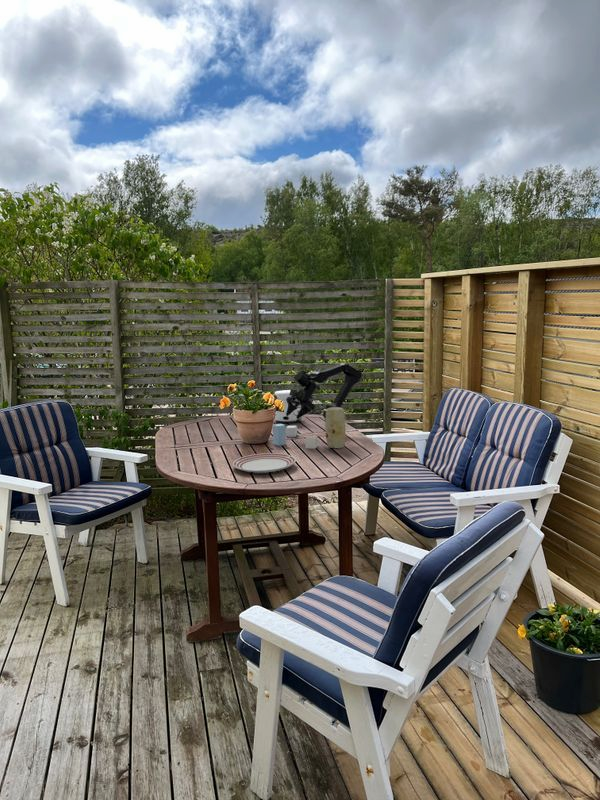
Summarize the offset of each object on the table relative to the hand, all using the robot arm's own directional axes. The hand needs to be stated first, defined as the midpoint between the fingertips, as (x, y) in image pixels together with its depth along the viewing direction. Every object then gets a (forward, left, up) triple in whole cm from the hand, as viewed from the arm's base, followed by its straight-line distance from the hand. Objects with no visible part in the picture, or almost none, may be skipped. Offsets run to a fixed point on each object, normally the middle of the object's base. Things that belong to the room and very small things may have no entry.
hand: (291, 416), depth 299 cm
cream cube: (-12, +10, -13) cm, 20 cm away
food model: (-24, +10, -13) cm, 29 cm away
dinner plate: (+2, +48, -13) cm, 50 cm away
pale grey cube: (+3, -14, -13) cm, 19 cm away
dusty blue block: (+5, +6, -13) cm, 15 cm away
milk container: (+13, -51, -13) cm, 54 cm away
